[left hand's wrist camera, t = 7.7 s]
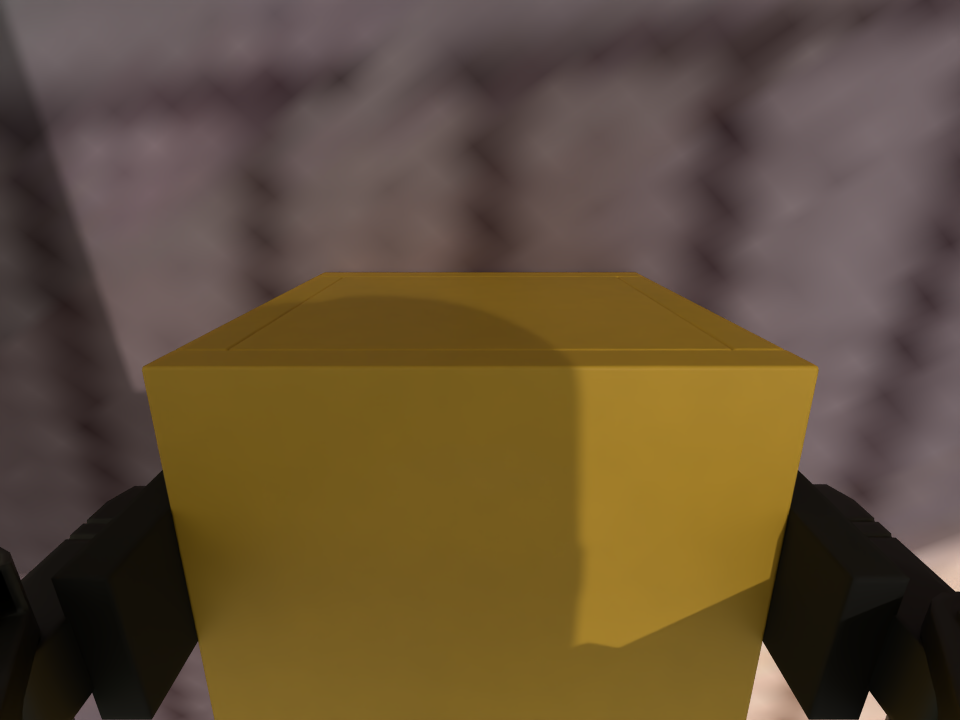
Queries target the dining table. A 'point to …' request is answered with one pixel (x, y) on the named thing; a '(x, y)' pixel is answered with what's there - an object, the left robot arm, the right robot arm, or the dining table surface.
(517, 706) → the cabinet
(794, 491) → the left robot arm
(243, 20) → the dining table surface
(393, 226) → the dining table surface
